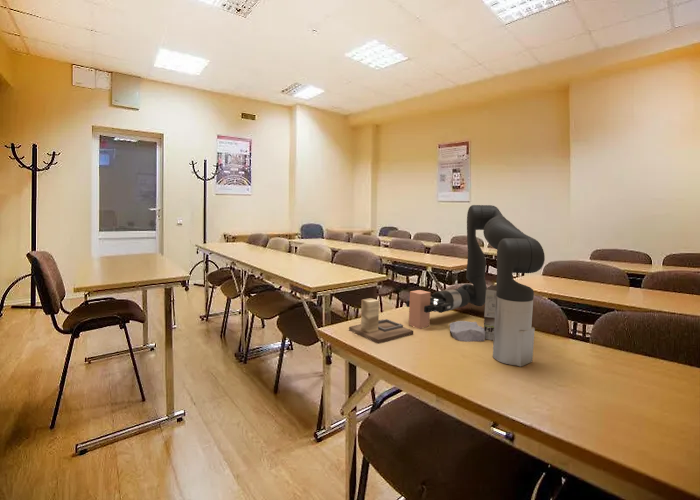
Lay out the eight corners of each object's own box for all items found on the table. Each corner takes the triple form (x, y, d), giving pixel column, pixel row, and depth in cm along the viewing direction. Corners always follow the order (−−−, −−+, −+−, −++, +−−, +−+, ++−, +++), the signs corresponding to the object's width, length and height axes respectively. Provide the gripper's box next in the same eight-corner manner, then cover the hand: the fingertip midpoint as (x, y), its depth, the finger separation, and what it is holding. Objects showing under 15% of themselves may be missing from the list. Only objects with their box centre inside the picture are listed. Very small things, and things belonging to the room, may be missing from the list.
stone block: (456, 347, 117) (488, 341, 116) (454, 332, 116) (486, 326, 116) (447, 336, 128) (476, 330, 128) (444, 322, 128) (473, 317, 128)
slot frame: (403, 327, 126) (403, 325, 125) (384, 331, 121) (384, 329, 121) (386, 321, 132) (386, 319, 132) (368, 325, 127) (368, 323, 127)
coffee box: (503, 342, 116) (507, 291, 114) (482, 338, 119) (485, 289, 117) (508, 334, 124) (511, 286, 122) (488, 331, 127) (490, 284, 125)
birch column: (378, 330, 122) (378, 300, 121) (368, 332, 119) (369, 302, 118) (370, 327, 125) (371, 298, 124) (360, 329, 123) (361, 299, 122)
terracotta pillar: (429, 326, 131) (430, 292, 130) (419, 328, 128) (420, 294, 127) (418, 322, 135) (419, 289, 134) (408, 324, 132) (409, 291, 131)
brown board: (413, 334, 122) (413, 330, 122) (378, 343, 114) (378, 339, 113) (382, 322, 134) (382, 319, 134) (349, 330, 126) (349, 326, 125)
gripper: (432, 287, 145) (401, 292, 135) (462, 294, 133) (432, 300, 124) (431, 306, 146) (401, 312, 136) (461, 314, 134) (431, 322, 125)
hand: (415, 306), depth 130 cm, fingers open, 8 cm apart
